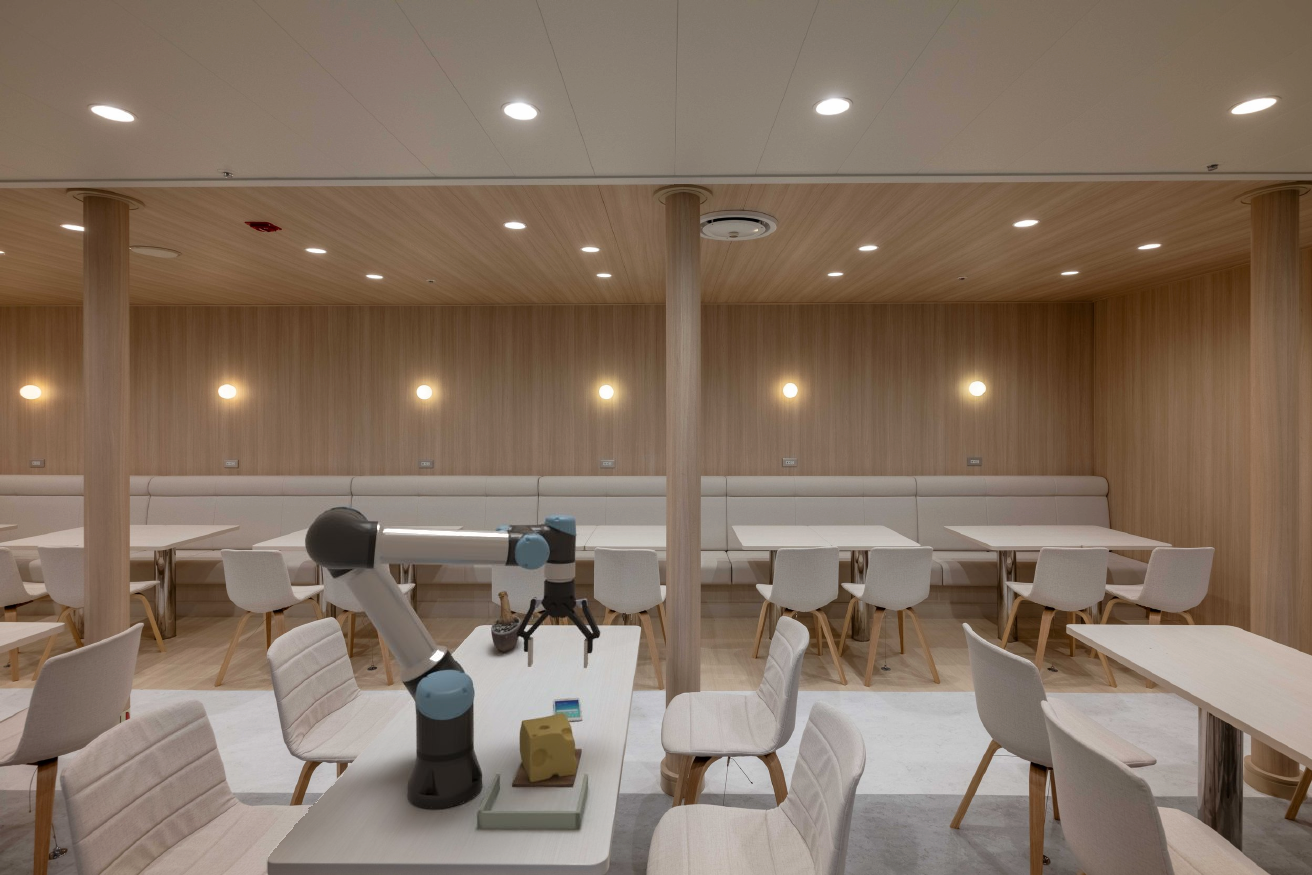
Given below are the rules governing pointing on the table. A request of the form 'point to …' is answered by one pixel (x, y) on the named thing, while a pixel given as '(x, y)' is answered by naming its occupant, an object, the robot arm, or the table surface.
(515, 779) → the serving board
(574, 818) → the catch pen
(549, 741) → the cheese
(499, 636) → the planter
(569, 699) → the smartphone
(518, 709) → the table surface
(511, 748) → the table surface
